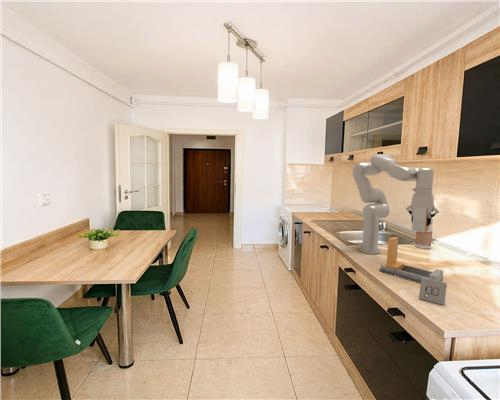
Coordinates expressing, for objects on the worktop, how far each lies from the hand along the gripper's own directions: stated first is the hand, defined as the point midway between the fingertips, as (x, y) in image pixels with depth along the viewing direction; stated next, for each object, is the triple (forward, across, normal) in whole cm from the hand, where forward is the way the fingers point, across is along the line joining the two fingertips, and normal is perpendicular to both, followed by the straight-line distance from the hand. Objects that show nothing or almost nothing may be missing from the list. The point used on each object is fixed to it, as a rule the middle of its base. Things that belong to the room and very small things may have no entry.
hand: (420, 223), depth 153 cm
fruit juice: (+26, -12, +50) cm, 57 cm away
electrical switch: (+26, +16, -34) cm, 46 cm away
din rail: (+26, 0, -11) cm, 28 cm away
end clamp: (+25, -8, -11) cm, 28 cm away
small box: (+4, 0, 0) cm, 4 cm away
